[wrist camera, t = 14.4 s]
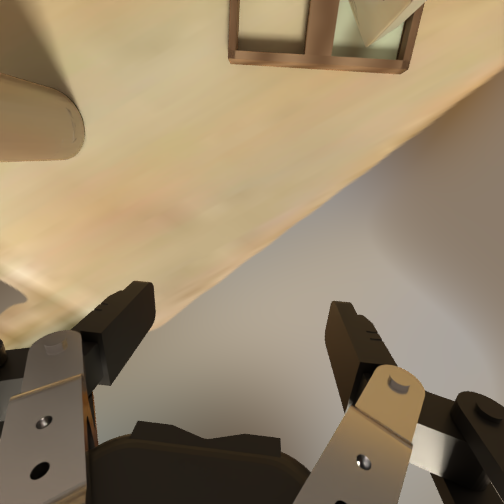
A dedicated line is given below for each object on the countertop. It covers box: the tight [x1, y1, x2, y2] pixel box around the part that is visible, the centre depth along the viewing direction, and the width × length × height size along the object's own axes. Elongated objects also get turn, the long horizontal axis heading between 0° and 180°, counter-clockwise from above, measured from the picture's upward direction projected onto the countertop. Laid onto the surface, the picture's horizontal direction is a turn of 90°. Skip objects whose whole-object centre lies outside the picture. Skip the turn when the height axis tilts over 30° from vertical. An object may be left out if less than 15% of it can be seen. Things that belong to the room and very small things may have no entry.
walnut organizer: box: [228, 0, 424, 74], centre depth 28 cm, size 21×12×2 cm, turn 86°
